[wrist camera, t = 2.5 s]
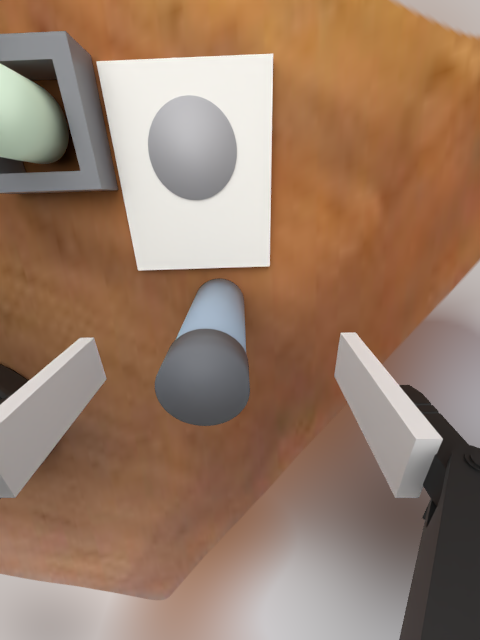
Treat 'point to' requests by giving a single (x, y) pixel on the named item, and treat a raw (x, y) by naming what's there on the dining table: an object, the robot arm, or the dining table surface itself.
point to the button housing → (80, 105)
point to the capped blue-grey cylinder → (207, 359)
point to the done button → (30, 121)
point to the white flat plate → (193, 157)
